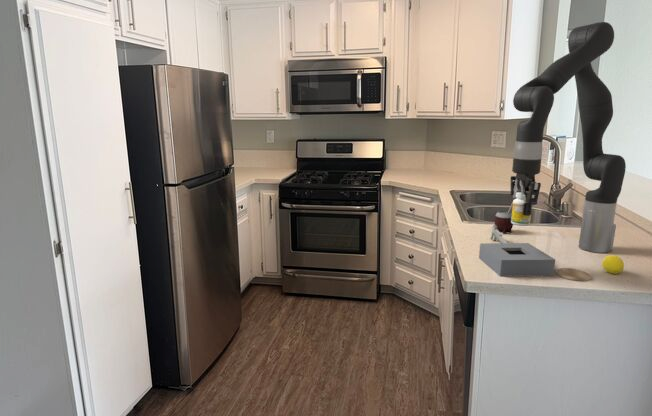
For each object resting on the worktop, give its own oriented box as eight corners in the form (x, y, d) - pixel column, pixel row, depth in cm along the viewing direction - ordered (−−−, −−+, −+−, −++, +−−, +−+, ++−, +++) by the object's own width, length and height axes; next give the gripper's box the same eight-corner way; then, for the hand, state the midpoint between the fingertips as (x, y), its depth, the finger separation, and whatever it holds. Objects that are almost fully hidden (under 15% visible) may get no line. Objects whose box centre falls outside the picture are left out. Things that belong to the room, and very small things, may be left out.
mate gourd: (492, 229, 176) (495, 193, 173) (512, 230, 174) (516, 194, 171) (495, 234, 169) (498, 196, 165) (516, 235, 167) (520, 197, 164)
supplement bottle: (525, 227, 127) (528, 195, 125) (507, 223, 131) (510, 192, 129) (533, 224, 131) (536, 193, 129) (515, 220, 135) (518, 190, 132)
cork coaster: (578, 269, 131) (579, 267, 131) (598, 281, 123) (598, 279, 122) (550, 270, 131) (550, 268, 131) (567, 281, 122) (567, 279, 122)
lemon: (624, 279, 126) (628, 262, 124) (603, 276, 127) (606, 260, 126) (618, 268, 132) (622, 252, 130) (598, 265, 134) (601, 250, 132)
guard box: (526, 257, 142) (528, 243, 141) (553, 275, 127) (555, 259, 125) (478, 257, 142) (480, 243, 140) (499, 276, 126) (501, 260, 125)
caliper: (490, 239, 163) (491, 223, 161) (493, 239, 163) (494, 223, 161) (514, 257, 143) (516, 239, 141) (517, 257, 143) (519, 239, 141)
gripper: (553, 159, 119) (546, 218, 123) (527, 154, 133) (522, 207, 137) (526, 159, 119) (520, 219, 123) (504, 154, 133) (499, 207, 137)
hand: (521, 212), depth 130 cm, fingers closed on supplement bottle, 5 cm apart
